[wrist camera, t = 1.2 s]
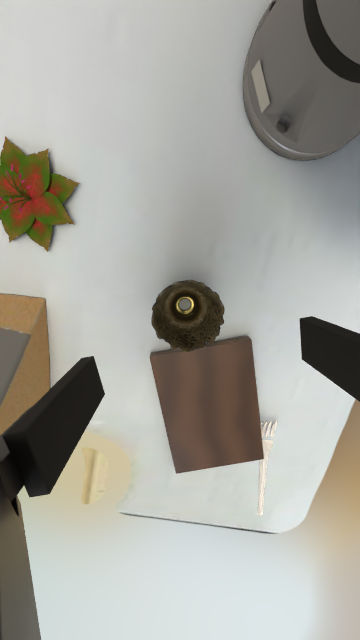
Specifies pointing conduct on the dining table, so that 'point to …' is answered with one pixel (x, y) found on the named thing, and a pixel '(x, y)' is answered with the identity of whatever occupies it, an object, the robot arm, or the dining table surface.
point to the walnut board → (209, 404)
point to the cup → (188, 315)
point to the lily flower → (31, 195)
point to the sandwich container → (22, 355)
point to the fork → (264, 462)
